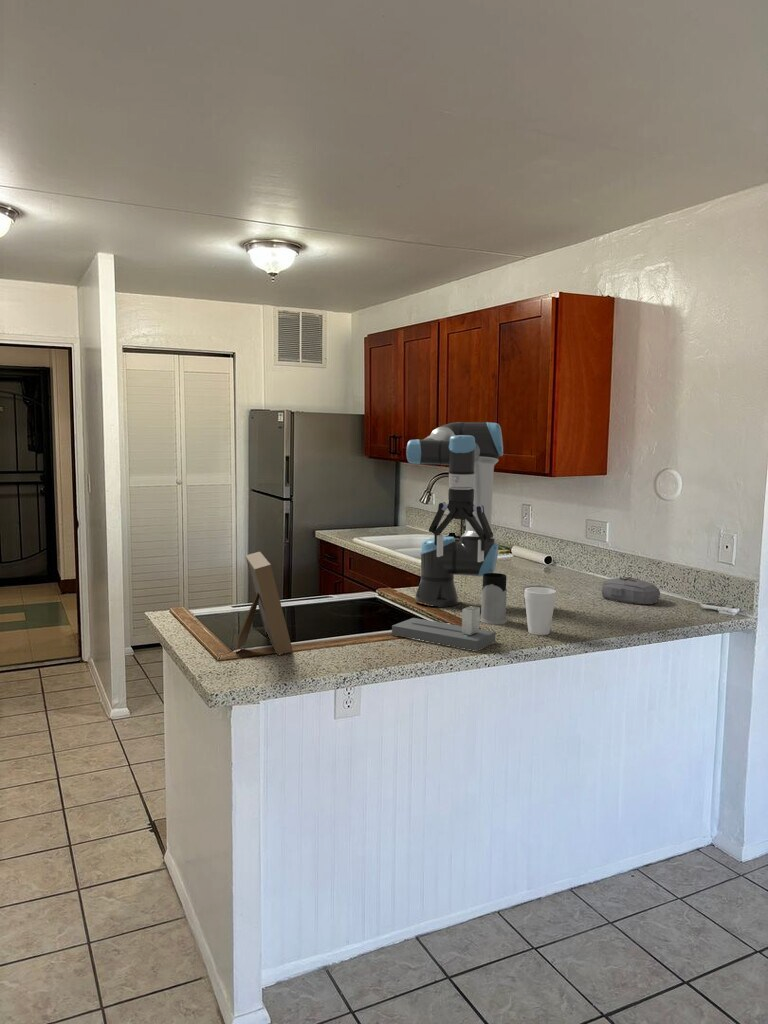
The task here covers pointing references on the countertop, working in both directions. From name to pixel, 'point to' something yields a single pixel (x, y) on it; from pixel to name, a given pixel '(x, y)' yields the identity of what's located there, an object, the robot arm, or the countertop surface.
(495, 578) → the glass holder
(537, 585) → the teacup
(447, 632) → the fader console
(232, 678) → the countertop surface
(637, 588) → the soft grey pack
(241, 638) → the photo frame
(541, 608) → the foam cup
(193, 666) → the countertop surface
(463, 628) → the fader knob
